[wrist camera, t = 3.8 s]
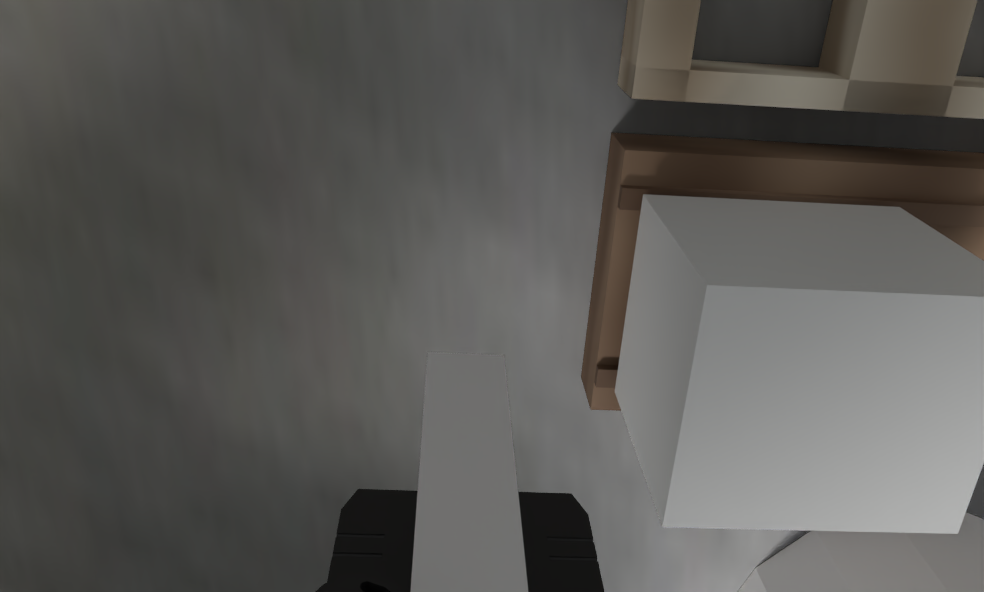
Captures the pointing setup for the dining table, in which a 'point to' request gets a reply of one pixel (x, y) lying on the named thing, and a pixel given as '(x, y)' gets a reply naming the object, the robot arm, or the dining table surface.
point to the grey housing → (803, 366)
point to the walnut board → (760, 176)
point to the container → (877, 562)
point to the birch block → (842, 68)
